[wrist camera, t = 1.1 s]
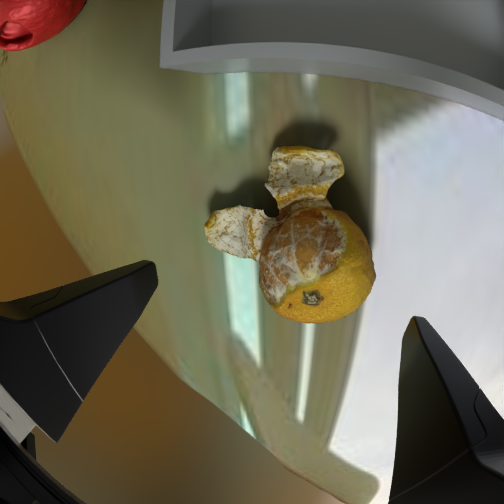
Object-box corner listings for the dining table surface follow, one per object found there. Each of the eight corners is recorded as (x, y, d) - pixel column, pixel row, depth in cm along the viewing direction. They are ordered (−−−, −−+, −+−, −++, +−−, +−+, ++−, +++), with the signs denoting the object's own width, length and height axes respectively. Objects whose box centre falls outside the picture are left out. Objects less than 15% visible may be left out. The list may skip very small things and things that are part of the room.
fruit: (307, 121, 12) (297, 128, 9) (413, 251, 13) (429, 294, 10) (198, 227, 16) (165, 261, 13) (297, 322, 18) (286, 367, 15)
